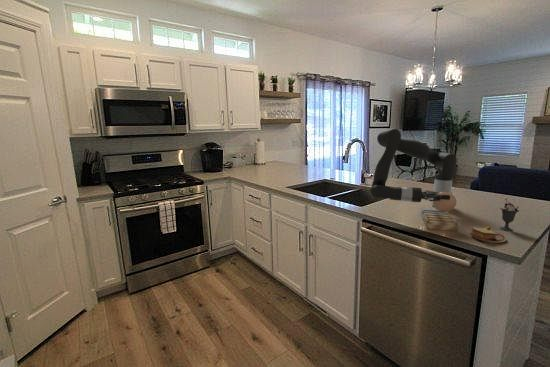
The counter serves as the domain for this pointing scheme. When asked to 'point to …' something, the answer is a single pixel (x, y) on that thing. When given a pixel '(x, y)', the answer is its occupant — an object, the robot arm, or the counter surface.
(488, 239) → the toy sandwich meal
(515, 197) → the counter surface
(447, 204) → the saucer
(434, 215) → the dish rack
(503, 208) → the sundae
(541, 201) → the counter surface
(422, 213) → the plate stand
